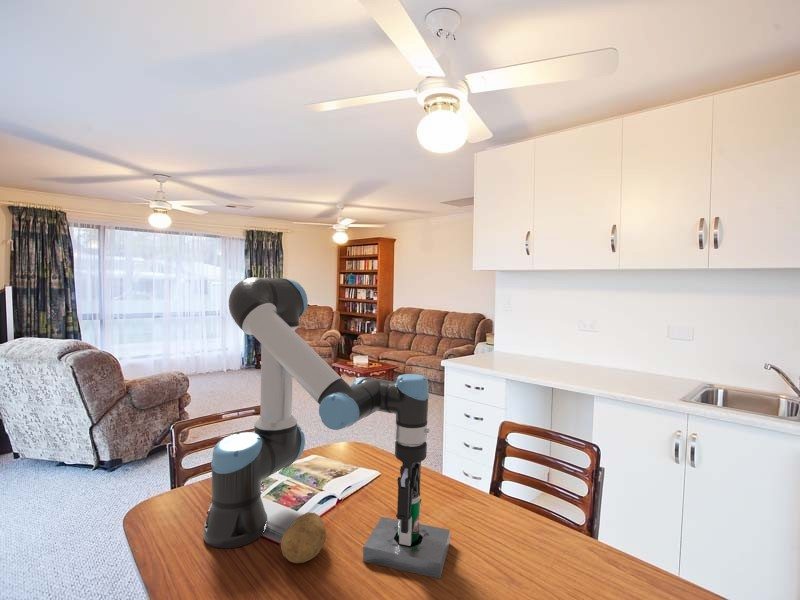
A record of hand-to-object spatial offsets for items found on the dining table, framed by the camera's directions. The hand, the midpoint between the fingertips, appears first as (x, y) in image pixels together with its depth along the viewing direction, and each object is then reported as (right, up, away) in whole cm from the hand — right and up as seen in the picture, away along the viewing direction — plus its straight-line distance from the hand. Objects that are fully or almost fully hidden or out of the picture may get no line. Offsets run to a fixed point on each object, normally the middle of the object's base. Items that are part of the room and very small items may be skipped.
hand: (408, 536), depth 99 cm
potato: (-25, -3, -2) cm, 25 cm away
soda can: (0, -2, 0) cm, 2 cm away
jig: (0, -4, 0) cm, 4 cm away
